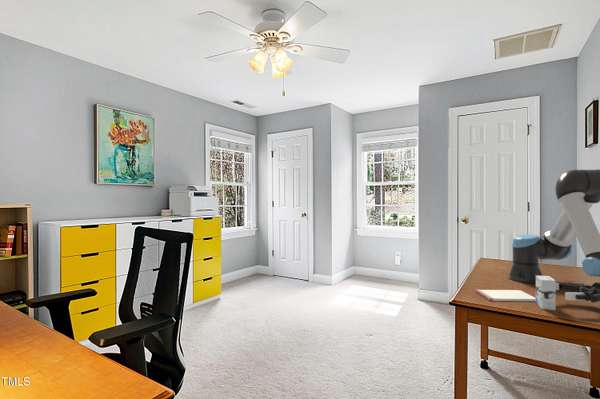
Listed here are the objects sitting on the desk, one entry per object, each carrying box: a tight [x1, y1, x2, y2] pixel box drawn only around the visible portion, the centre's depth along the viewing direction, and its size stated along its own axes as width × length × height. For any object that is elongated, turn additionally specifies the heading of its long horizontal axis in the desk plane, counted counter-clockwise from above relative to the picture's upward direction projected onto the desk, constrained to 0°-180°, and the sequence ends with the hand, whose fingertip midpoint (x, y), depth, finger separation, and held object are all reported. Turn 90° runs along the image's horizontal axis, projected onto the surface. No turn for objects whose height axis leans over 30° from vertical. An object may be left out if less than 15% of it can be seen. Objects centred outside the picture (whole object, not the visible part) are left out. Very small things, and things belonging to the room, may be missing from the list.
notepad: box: [475, 289, 536, 302], centre depth 152 cm, size 20×13×1 cm, turn 86°
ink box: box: [535, 275, 557, 311], centre depth 138 cm, size 8×5×12 cm, turn 159°
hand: (553, 291), depth 137 cm, fingers open, 13 cm apart
